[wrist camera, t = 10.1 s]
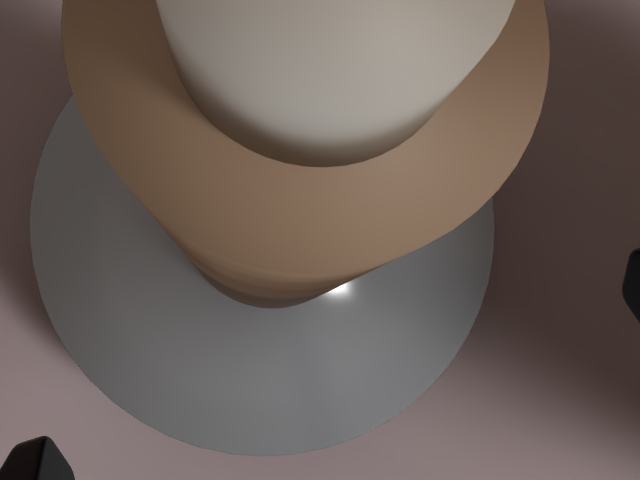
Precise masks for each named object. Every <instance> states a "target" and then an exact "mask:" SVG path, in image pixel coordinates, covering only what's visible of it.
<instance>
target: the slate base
mask: <svg viewBox="0 0 640 480" xmlns="http://www.w3.org/2000/svg"><path fill="white" fill-rule="evenodd" d="M494 234H495V221H494V209H493V197H491V198H490V199H489V200H488V201H487V202H486V203H485V204H484V205H483V206H482V207H481V208H480V209H479V210H478V211H477V212H476V213H474V214H473V215H472V216H470V217H469V218H468V219H466V220H465V221H464V222H462V223H461V224H460V225H458V226H457V227H456V228H454V229H453V230H452V231H450V232H448V233H446V234H444V235H443V236H441V237H439V238H437V239H435V240H434V241H432V242H430V243H428V244H427V245H425V246H423V247H421V248H418V249H416V250H414V251H412V252H410V253H408V254H406V255H404V256H402V257H400V258H398V259H396V260H393V261H391V262H389V263H387V264H385V265H383V266H381V267H379V268H377V269H375V270H373V271H371V272H368V273H366V274H364V275H362V276H360V277H358V278H356V279H354V280H352V281H350V282H348V283H345V284H343V285H341V286H339V287H337V288H335V289H333V290H331V291H329V292H327V293H325V294H323V295H320V296H318V297H316V298H314V299H312V300H310V301H307V302H305V303H302V304H299V305H295V306H291V307H285V308H260V307H253V306H250V305H246V304H243V303H240V302H238V301H236V300H233V299H231V298H229V297H228V296H226V295H224V294H223V293H221V292H220V291H218V290H217V289H216V288H215V287H213V286H212V285H211V284H210V283H209V282H208V281H207V280H206V279H205V278H204V277H203V276H202V274H201V273H200V272H199V271H198V270H197V268H196V267H195V266H194V265H193V264H192V262H191V261H190V260H189V259H188V258H187V257H186V255H185V254H184V253H183V252H182V251H181V249H180V248H179V247H178V246H177V245H176V243H175V242H174V241H173V240H172V239H171V237H170V236H169V235H168V234H167V233H166V232H165V230H164V229H163V228H162V227H161V226H160V224H159V223H158V222H157V221H156V220H155V218H154V217H153V216H152V215H151V214H150V213H149V211H148V210H147V209H146V208H145V207H144V205H143V204H142V203H141V202H140V201H139V199H138V198H137V197H136V196H135V195H134V194H133V192H132V191H131V190H130V189H129V188H128V186H127V185H126V184H125V183H124V182H123V180H122V179H121V178H120V177H119V176H118V174H117V173H116V172H115V170H114V169H113V168H112V166H111V165H110V164H109V162H108V161H107V159H106V158H105V157H104V155H103V154H102V153H101V151H100V150H99V148H98V147H97V145H96V143H95V142H94V140H93V138H92V136H91V134H90V132H89V130H88V128H87V127H86V125H85V123H84V121H83V119H82V117H81V115H80V112H79V109H78V106H77V104H76V101H75V98H74V95H73V94H72V96H71V97H70V99H69V100H68V102H67V103H66V105H65V107H64V108H63V110H62V111H61V113H60V114H59V116H58V118H57V120H56V122H55V124H54V126H53V128H52V130H51V132H50V134H49V137H48V139H47V141H46V143H45V145H44V149H43V152H42V155H41V158H40V161H39V164H38V168H37V171H36V175H35V180H34V186H33V192H32V198H31V205H30V243H31V252H32V261H33V268H34V272H35V276H36V280H37V283H38V287H39V291H40V295H41V298H42V301H43V303H44V306H45V308H46V310H47V313H48V315H49V318H50V320H51V323H52V325H53V327H54V329H55V331H56V332H57V334H58V336H59V337H60V339H61V341H62V342H63V344H64V346H65V348H66V349H67V351H68V353H69V354H70V356H71V357H72V358H73V359H74V361H75V362H76V363H77V364H78V366H79V367H80V368H81V369H82V371H83V372H84V373H85V375H86V376H87V377H88V378H89V380H90V381H91V382H93V383H94V384H95V385H96V386H97V387H98V388H99V389H100V390H101V391H102V392H103V393H104V394H105V395H106V396H107V397H108V398H109V399H110V400H111V401H113V402H114V403H115V404H117V405H118V406H119V407H121V408H122V409H124V410H125V411H126V412H128V413H129V414H131V415H132V416H133V417H135V418H136V419H138V420H139V421H141V422H142V423H144V424H146V425H148V426H150V427H152V428H154V429H156V430H158V431H160V432H162V433H163V434H165V435H167V436H169V437H172V438H175V439H178V440H181V441H183V442H186V443H189V444H192V445H194V446H197V447H201V448H205V449H210V450H215V451H220V452H224V453H229V454H239V455H253V456H274V455H290V454H298V453H303V452H308V451H313V450H318V449H323V448H327V447H330V446H333V445H336V444H339V443H342V442H345V441H347V440H350V439H353V438H356V437H358V436H360V435H362V434H364V433H366V432H368V431H370V430H372V429H374V428H376V427H378V426H380V425H382V424H384V423H385V422H387V421H388V420H390V419H391V418H392V417H394V416H395V415H397V414H398V413H400V412H401V411H403V410H404V409H406V408H407V407H408V406H410V405H411V404H412V403H413V402H414V401H415V400H416V399H417V398H419V397H420V396H421V395H422V394H423V393H424V392H425V391H426V390H427V389H428V388H430V387H431V386H432V385H433V383H434V382H435V381H436V380H437V379H438V378H439V376H440V375H441V374H442V373H443V372H444V370H445V369H446V368H447V367H448V366H449V364H450V363H451V362H452V360H453V359H454V357H455V356H456V354H457V353H458V351H459V349H460V348H461V346H462V345H463V343H464V342H465V340H466V339H467V337H468V335H469V333H470V330H471V328H472V326H473V324H474V322H475V320H476V317H477V315H478V313H479V311H480V308H481V305H482V302H483V299H484V295H485V292H486V289H487V286H488V283H489V277H490V271H491V266H492V260H493V254H494Z"/></svg>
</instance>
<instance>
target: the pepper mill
mask: <svg viewBox="0 0 640 480" xmlns="http://www.w3.org/2000/svg"><path fill="white" fill-rule="evenodd" d="M61 26H62V42H63V55H64V60H65V65H66V69H67V74H68V79H69V84H70V87H71V90H72V93H73V95H74V98H75V101H76V104H77V106H78V109H79V112H80V115H81V117H82V119H83V121H84V123H85V125H86V127H87V128H88V130H89V132H90V134H91V136H92V138H93V140H94V142H95V143H96V145H97V147H98V148H99V150H100V151H101V153H102V154H103V155H104V157H105V158H106V159H107V161H108V162H109V164H110V165H111V166H112V168H113V169H114V170H115V172H116V173H117V174H118V176H119V177H120V178H121V179H122V180H123V182H124V183H125V184H126V185H127V186H128V188H129V189H130V190H131V191H132V192H133V194H134V195H135V196H136V197H137V198H138V199H139V201H140V202H141V203H142V204H143V205H144V207H145V208H146V209H147V210H148V211H149V213H150V214H151V215H152V216H153V217H154V218H155V220H156V221H157V222H158V223H159V224H160V226H161V227H162V228H163V229H164V230H165V232H166V233H167V234H168V235H169V236H170V237H171V239H172V240H173V241H174V242H175V243H176V245H177V246H178V247H179V248H180V249H181V251H182V252H183V253H184V254H185V255H186V257H187V258H188V259H189V260H190V261H191V262H192V264H193V265H194V266H195V267H196V268H197V270H198V271H199V272H200V273H201V274H202V276H203V277H204V278H205V279H206V280H207V281H208V282H209V283H210V284H211V285H212V286H213V287H215V288H216V289H217V290H218V291H220V292H221V293H223V294H224V295H226V296H228V297H229V298H231V299H233V300H236V301H238V302H240V303H243V304H246V305H250V306H253V307H260V308H285V307H291V306H295V305H299V304H302V303H305V302H307V301H310V300H312V299H314V298H316V297H318V296H320V295H323V294H325V293H327V292H329V291H331V290H333V289H335V288H337V287H339V286H341V285H343V284H345V283H348V282H350V281H352V280H354V279H356V278H358V277H360V276H362V275H364V274H366V273H368V272H371V271H373V270H375V269H377V268H379V267H381V266H383V265H385V264H387V263H389V262H391V261H393V260H396V259H398V258H400V257H402V256H404V255H406V254H408V253H410V252H412V251H414V250H416V249H418V248H421V247H423V246H425V245H427V244H428V243H430V242H432V241H434V240H435V239H437V238H439V237H441V236H443V235H444V234H446V233H448V232H450V231H452V230H453V229H454V228H456V227H457V226H458V225H460V224H461V223H462V222H464V221H465V220H466V219H468V218H469V217H470V216H472V215H473V214H474V213H476V212H477V211H478V210H479V209H480V208H481V207H482V206H483V205H484V204H485V203H486V202H487V201H488V200H489V199H490V198H491V197H492V196H493V195H494V194H495V193H496V192H497V191H498V190H499V188H500V187H501V186H502V184H503V183H504V182H505V180H506V179H507V178H508V176H509V175H510V174H511V172H512V171H513V170H514V168H515V167H516V166H517V164H518V162H519V160H520V158H521V157H522V155H523V153H524V151H525V149H526V147H527V146H528V144H529V142H530V140H531V137H532V135H533V132H534V130H535V127H536V124H537V122H538V119H539V116H540V114H541V110H542V106H543V101H544V97H545V92H546V88H547V82H548V71H549V60H550V48H549V27H548V21H547V15H546V10H545V4H544V0H63V7H62V19H61Z"/></svg>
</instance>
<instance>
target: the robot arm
mask: <svg viewBox="0 0 640 480" xmlns="http://www.w3.org/2000/svg"><path fill="white" fill-rule="evenodd" d="M622 294H623V298H624V300H625V302H626V304H627V305H628V307H629V308H630V310H631V311H632V313H633V314H634V316H635V317H636V319H637V320H638V322H639V323H640V248H638V249H635V250H634V251H633V252H632V253H631V254H630V256H629V260H628V264H627V268H626V272H625V276H624V280H623V284H622ZM0 480H75V477H74V474H73V471H72V469H71V467H70V465H69V464H68V462H67V461H66V459H65V458H64V456H63V455H62V453H61V452H60V451H59V449H58V448H57V446H56V445H55V443H54V442H53V441H52V439H51V438H49V437H47V436H41V437H38V438H35V439H31V440H28V441H25V442H22V443H19V444H18V445H16V446H15V447H14V448H13V449H12V451H11V452H10V454H9V455H8V457H7V459H6V460H5V462H4V464H3V465H2V467H1V469H0Z"/></svg>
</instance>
